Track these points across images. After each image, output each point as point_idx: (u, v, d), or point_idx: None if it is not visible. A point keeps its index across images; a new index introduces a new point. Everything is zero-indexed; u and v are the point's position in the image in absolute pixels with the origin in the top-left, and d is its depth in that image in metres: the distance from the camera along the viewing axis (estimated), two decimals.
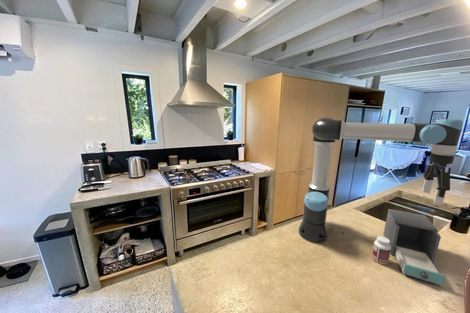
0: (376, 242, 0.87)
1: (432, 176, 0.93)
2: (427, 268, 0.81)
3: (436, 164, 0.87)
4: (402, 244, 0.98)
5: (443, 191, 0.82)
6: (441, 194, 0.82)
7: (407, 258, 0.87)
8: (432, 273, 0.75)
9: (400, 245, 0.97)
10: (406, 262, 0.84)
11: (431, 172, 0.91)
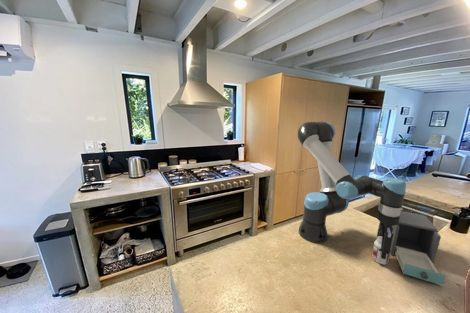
0: (376, 242, 0.87)
1: None
2: (427, 268, 0.81)
3: (383, 223, 0.85)
4: (402, 244, 0.98)
5: (384, 253, 0.83)
6: (383, 256, 0.83)
7: (407, 258, 0.87)
8: (432, 273, 0.75)
9: (400, 245, 0.97)
10: (406, 262, 0.84)
11: (381, 231, 0.88)
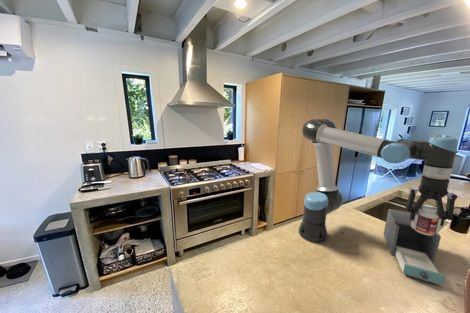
0: None
1: (439, 210, 0.75)
2: (427, 268, 0.81)
3: None
4: (402, 244, 0.98)
5: (411, 213, 0.80)
6: (410, 216, 0.80)
7: (407, 258, 0.87)
8: (432, 273, 0.75)
9: (400, 245, 0.97)
10: (406, 262, 0.84)
11: None
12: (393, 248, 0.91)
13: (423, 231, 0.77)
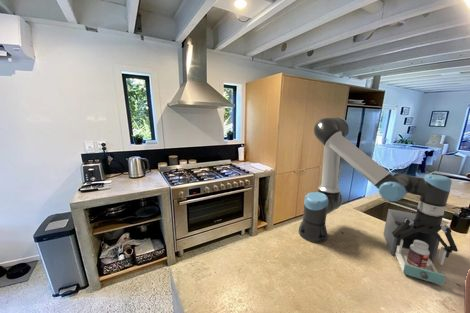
0: None
1: (441, 243, 0.77)
2: (427, 268, 0.81)
3: None
4: None
5: (396, 238, 0.84)
6: (396, 241, 0.85)
7: None
8: (432, 273, 0.75)
9: None
10: (406, 262, 0.84)
11: None
12: (393, 248, 0.91)
13: None
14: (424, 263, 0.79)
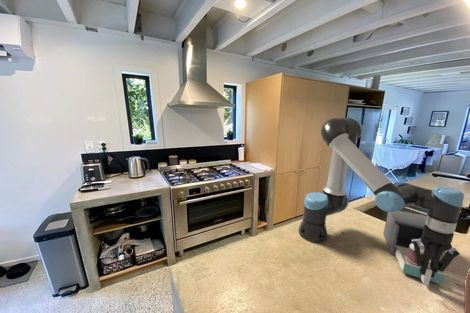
0: None
1: (433, 261, 0.72)
2: None
3: None
4: (402, 244, 0.98)
5: (421, 266, 0.74)
6: (420, 269, 0.75)
7: None
8: None
9: (400, 245, 0.97)
10: (406, 261, 0.85)
11: (433, 252, 0.72)
12: (393, 248, 0.91)
13: None
14: None
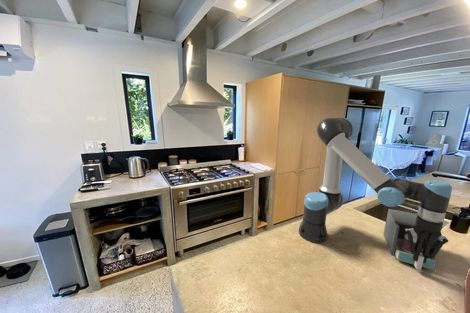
0: None
1: (425, 248, 0.79)
2: None
3: None
4: None
5: (414, 253, 0.81)
6: (413, 256, 0.82)
7: None
8: None
9: None
10: (401, 250, 0.92)
11: (425, 240, 0.79)
12: (393, 248, 0.91)
13: None
14: None
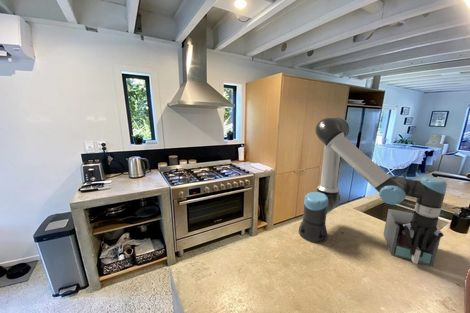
0: None
1: (421, 242, 0.82)
2: None
3: None
4: None
5: (411, 248, 0.85)
6: (410, 250, 0.85)
7: None
8: None
9: None
10: (398, 245, 0.95)
11: (422, 234, 0.83)
12: (393, 248, 0.91)
13: None
14: None
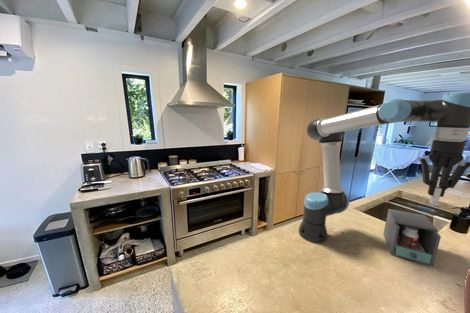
0: None
1: (442, 178, 0.67)
2: (417, 250, 0.92)
3: None
4: None
5: (429, 187, 0.69)
6: (428, 190, 0.70)
7: None
8: (420, 253, 0.86)
9: None
10: (398, 245, 0.95)
11: (443, 169, 0.67)
12: (393, 248, 0.91)
13: None
14: (414, 245, 0.90)
